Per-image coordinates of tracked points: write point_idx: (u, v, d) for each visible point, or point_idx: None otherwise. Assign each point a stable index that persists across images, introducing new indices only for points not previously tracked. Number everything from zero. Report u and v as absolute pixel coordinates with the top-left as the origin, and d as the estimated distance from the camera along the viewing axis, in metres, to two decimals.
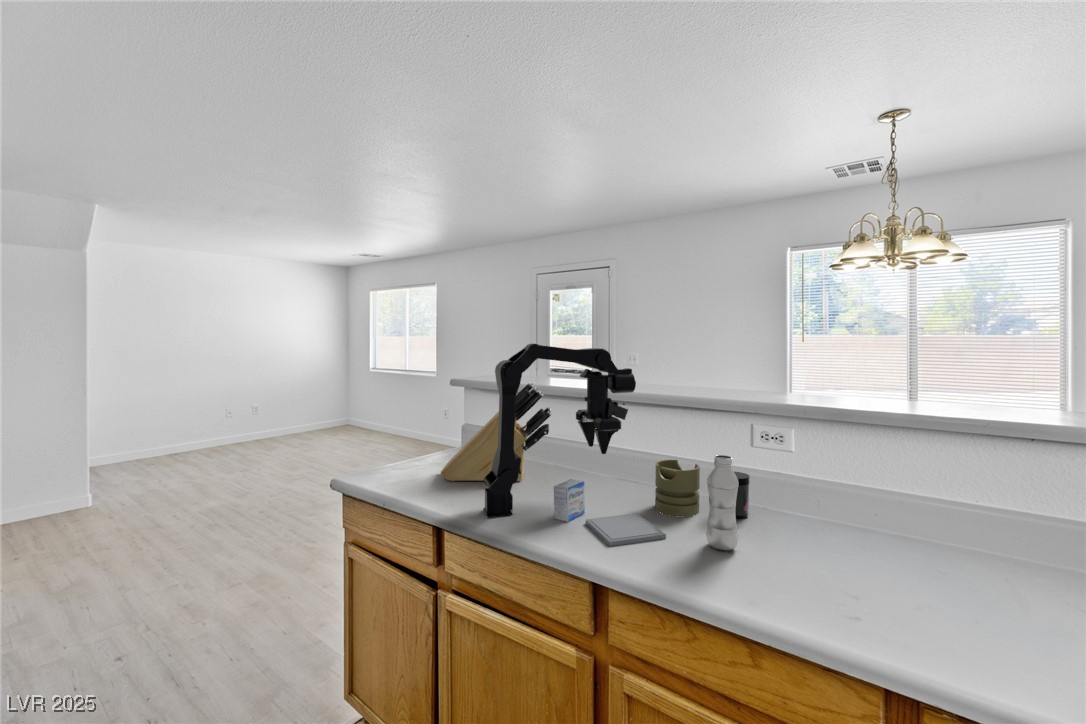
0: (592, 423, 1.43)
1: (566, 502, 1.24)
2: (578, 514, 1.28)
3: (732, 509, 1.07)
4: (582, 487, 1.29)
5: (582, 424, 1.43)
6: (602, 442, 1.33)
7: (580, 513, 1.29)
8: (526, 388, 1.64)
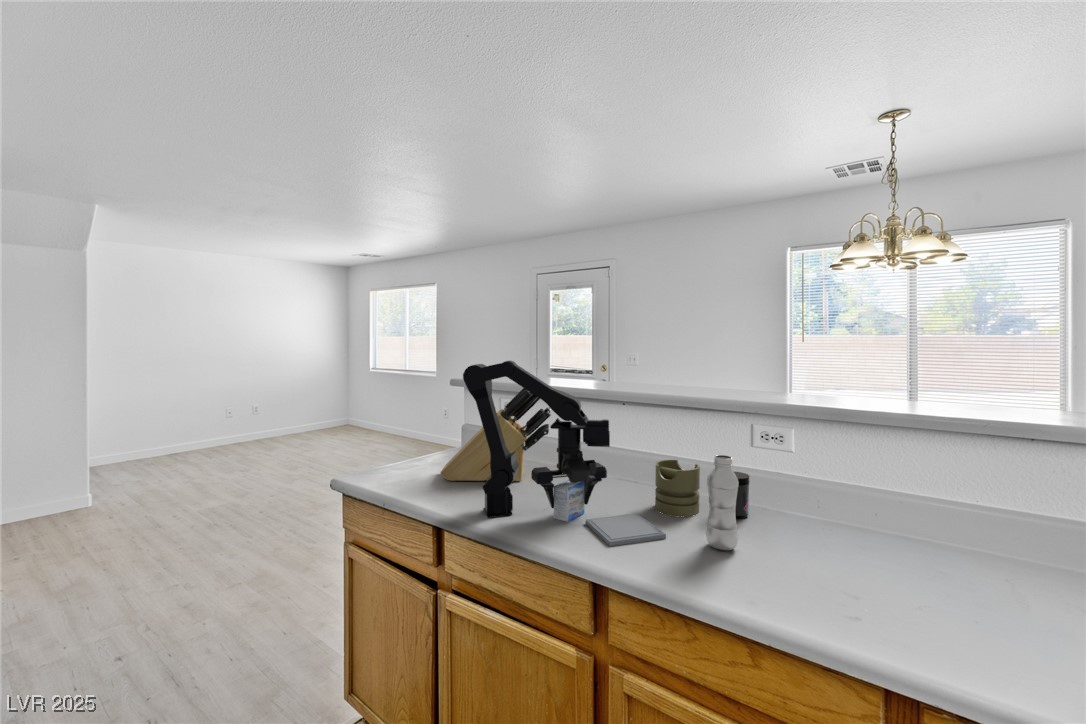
0: (588, 479, 1.29)
1: (566, 502, 1.24)
2: (578, 514, 1.28)
3: (732, 509, 1.07)
4: (582, 487, 1.29)
5: None
6: (546, 494, 1.28)
7: (580, 513, 1.29)
8: None
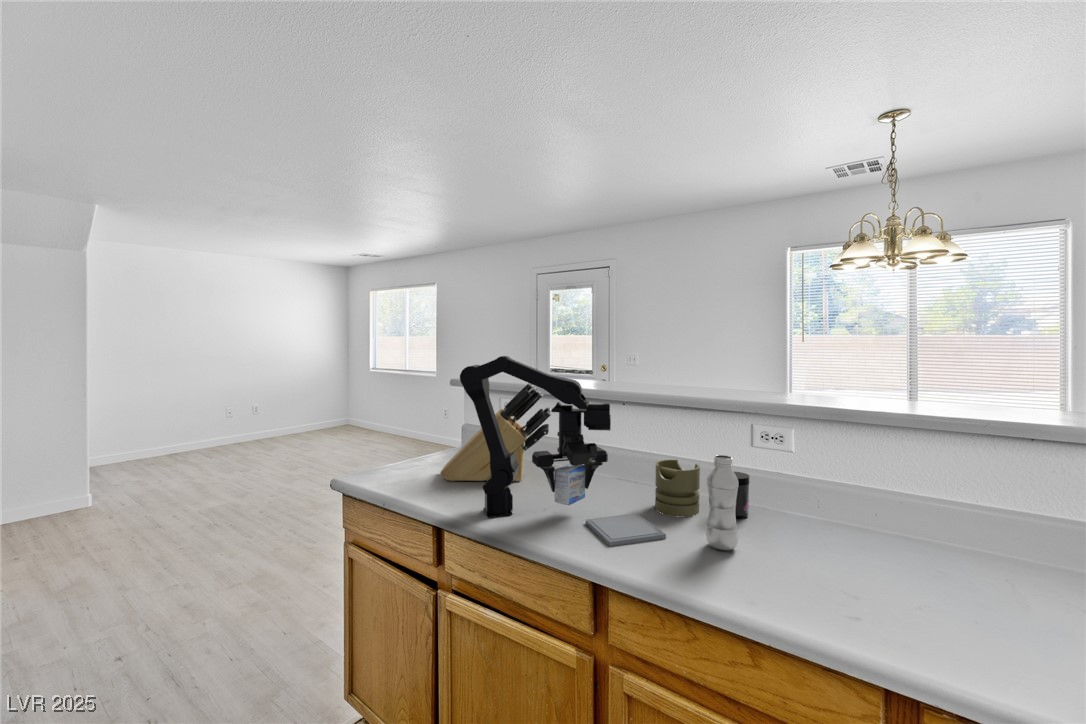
0: (589, 463, 1.29)
1: (567, 485, 1.24)
2: (579, 498, 1.28)
3: (732, 509, 1.07)
4: (583, 471, 1.29)
5: None
6: (547, 478, 1.27)
7: (581, 497, 1.28)
8: (526, 388, 1.64)
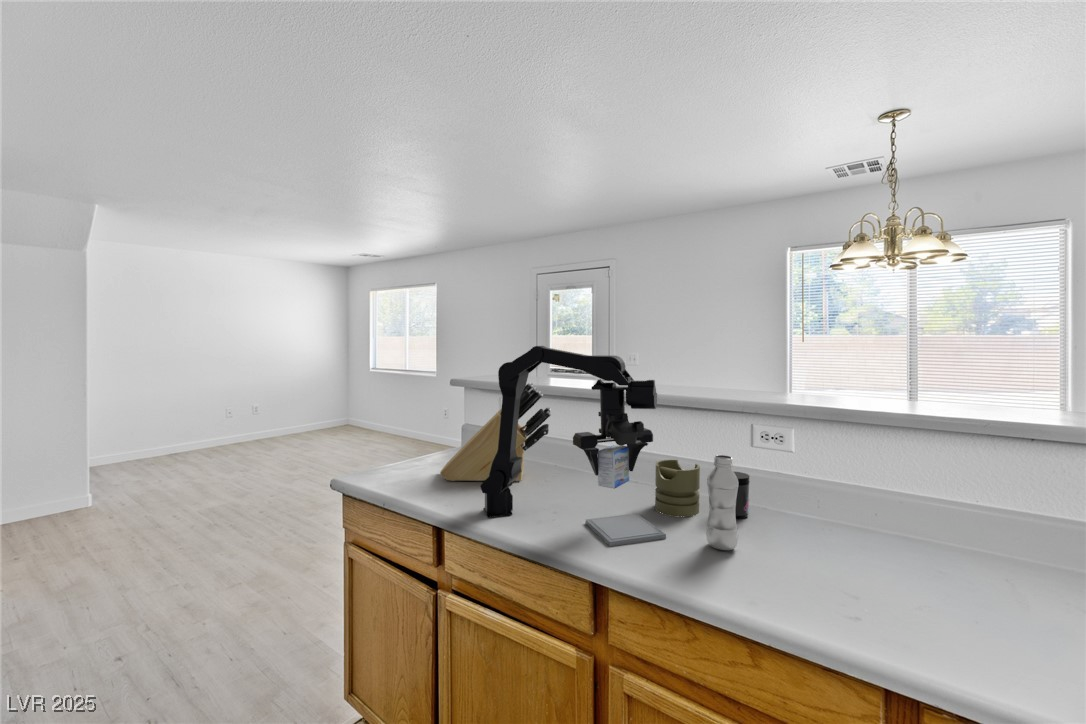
0: (633, 444, 1.21)
1: (612, 467, 1.16)
2: (623, 481, 1.20)
3: (732, 509, 1.07)
4: (627, 452, 1.21)
5: None
6: (590, 460, 1.19)
7: (625, 480, 1.21)
8: (526, 388, 1.64)
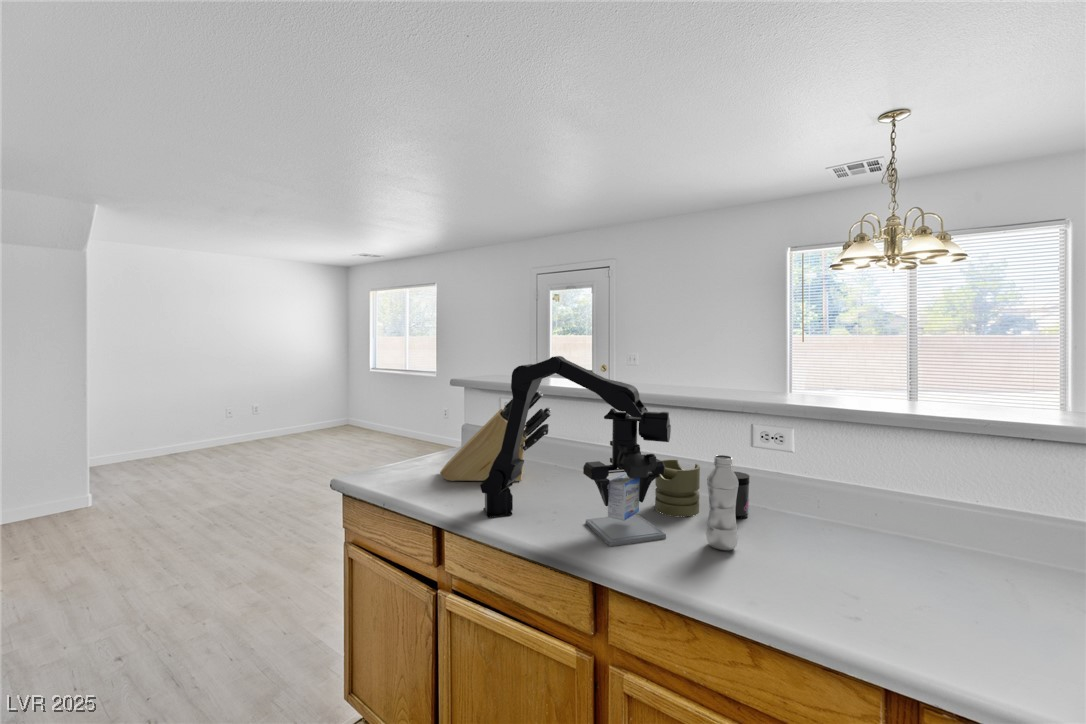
0: None
1: (622, 499, 1.14)
2: (633, 512, 1.18)
3: (732, 509, 1.07)
4: (637, 483, 1.19)
5: None
6: (600, 490, 1.18)
7: (635, 511, 1.19)
8: None
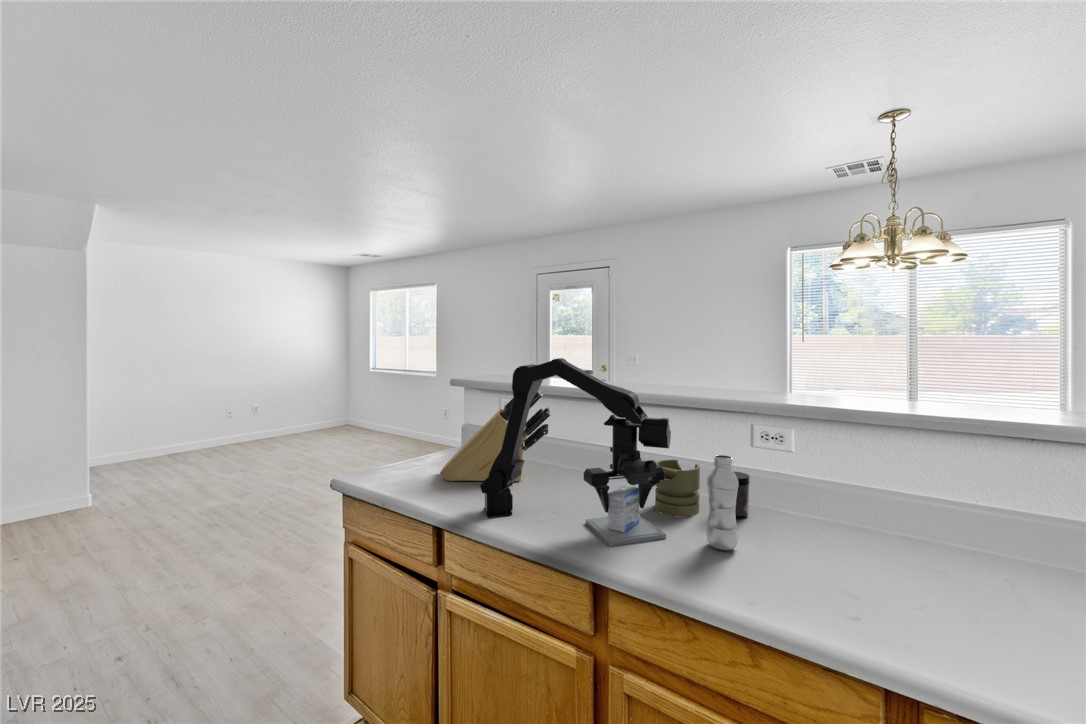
0: None
1: (622, 511, 1.15)
2: (633, 524, 1.18)
3: (732, 509, 1.07)
4: (637, 494, 1.20)
5: None
6: (600, 497, 1.18)
7: (635, 522, 1.19)
8: None
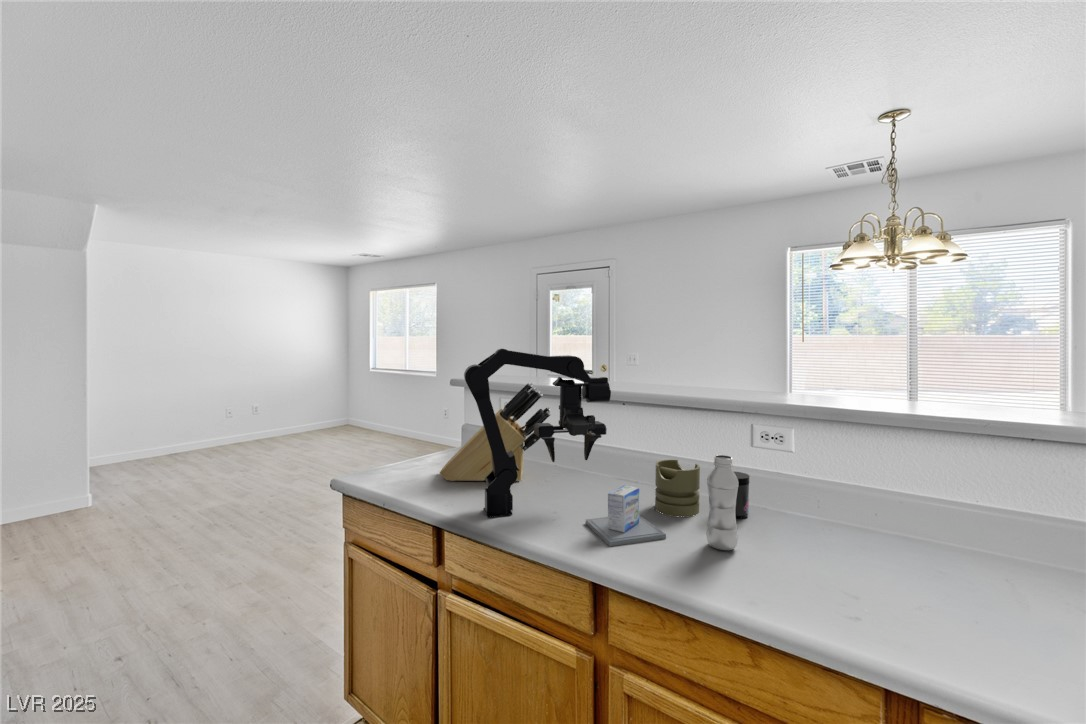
0: (588, 436, 1.35)
1: (622, 511, 1.15)
2: (633, 524, 1.18)
3: (732, 509, 1.07)
4: (637, 494, 1.20)
5: (584, 434, 1.38)
6: (548, 448, 1.33)
7: (635, 522, 1.19)
8: (525, 388, 1.64)
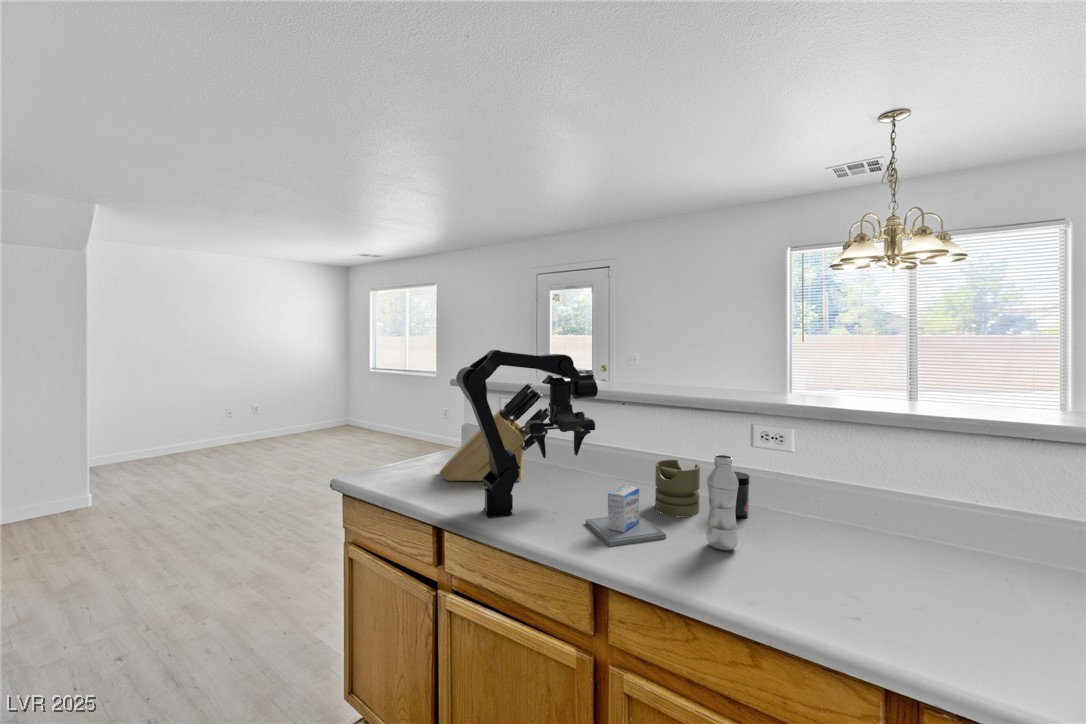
0: (578, 432, 1.38)
1: (622, 511, 1.15)
2: (633, 524, 1.18)
3: (732, 509, 1.07)
4: (637, 494, 1.20)
5: (574, 430, 1.41)
6: (539, 445, 1.37)
7: (635, 522, 1.19)
8: (525, 388, 1.64)
